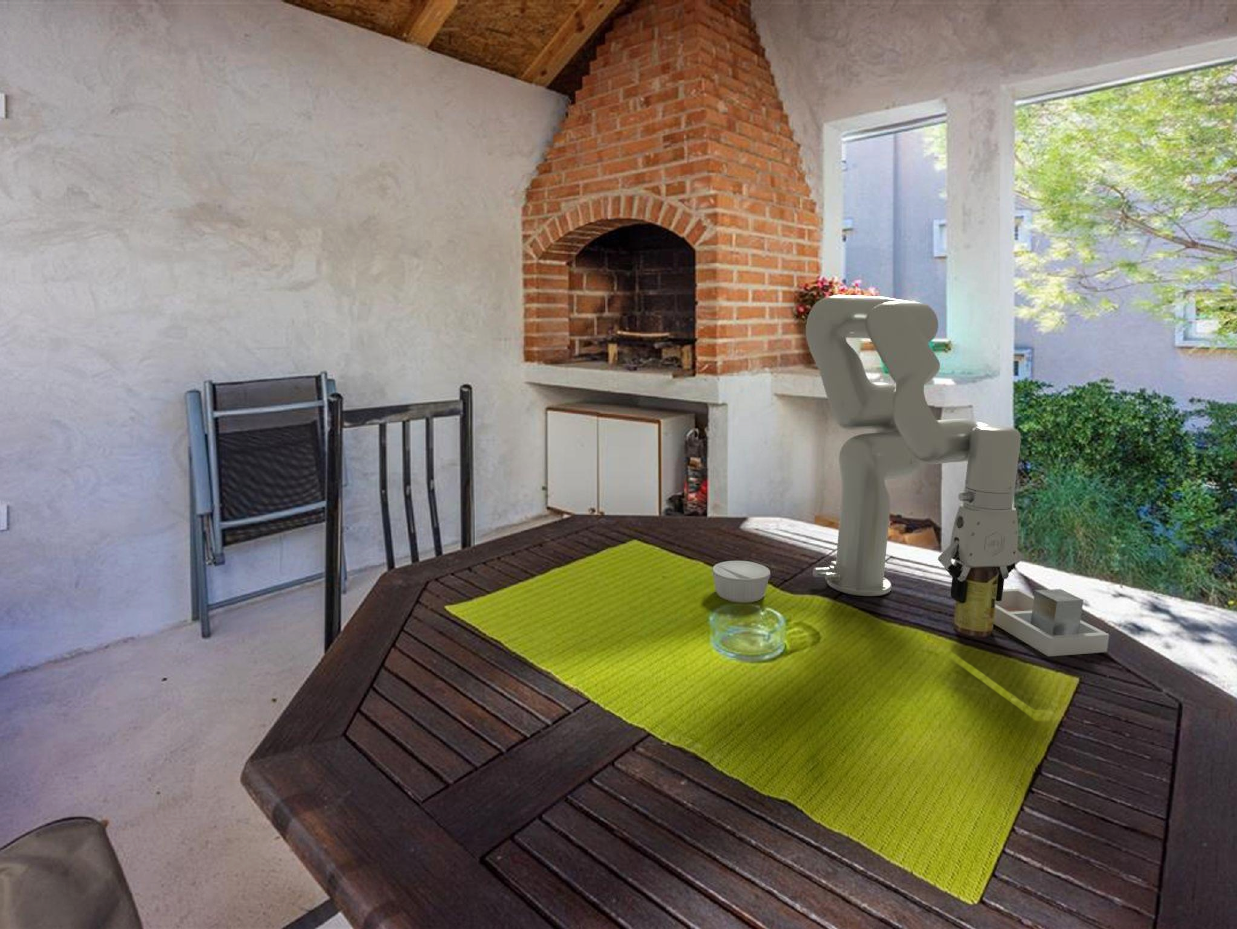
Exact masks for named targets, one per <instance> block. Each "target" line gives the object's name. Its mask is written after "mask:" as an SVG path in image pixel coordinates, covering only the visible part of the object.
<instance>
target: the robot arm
mask: <svg viewBox="0 0 1237 929" xmlns="http://www.w3.org/2000/svg"><path fill="white" fill-rule="evenodd" d="M938 320H939V319H938V317H937V314H936V312H935V310H934V309H933V308H932V307H931V306H929V305H928V304H925V303H923V302H920V301H919V302H917V301H911V300H910V301H909V300H904V299H898V298H897V299H896V298H890V297H885V296H875V295H874V296H873V295H871V296H870V295H857V294H856V295H854V294H852V295H851V294H847V295H846V294H834V295H829V296H826V297H823V298H820V300H818V301H816V302H815V304H814V305H813V306H812V307H811V309H810V311H809V314H808V316H807V319H806V324H805V325H806V326H805V338H806V343H807V345H808V348H809V351H810V354H811V356H812V358H813V360H814V362H815V364H816V367H817V369H818V372H819V374H820V378H821V381H822V384H823V385H822V386H823V388H824V391H825V394H826V398H827V401H828V404H829V406H830V410H831V413H832V417H833V419H834V421H835V422H836V424H837V426H838V427H839V428H841V429H844V430H847V431H861V430H863V431H864V430H873V431H874V432H869V433H861V434H858V435H855V436H854V435H853V436H852V437H850V438H848V439H847V440H846V441H845V442H844V443H843V444H842V447H841V448H840V450H839V456H838V457H839V458H838V463H839V464H838V465H839V471H840V472H839V473H840V479H841V480H840V482H841V485H840V486H841V492H840V496H841V497H840V511H839V520H838V522H839V523H838V535H837V536H838V537H837V546H836V547H837V548H836V560H832V561H831V562H830V565H827V566H826V567H822V566H821V567H813V569H812V575H813V577H814V578H820V577H821V578H822V577H824V579H825V580H826V583H827V585H828V586H829V587H831V588H832V589H834V590H835V591H839V592H841V593H845V594H848V595H853V596H860V597H879V596H883V595H887V594H888V593H890V592H891V590H892V583H891V581H890V580H888V579H887V578H886V577H884V576H885V569H886V568H885V566H886V558H887V557H886V556H887V548H888V539H889V537H888V536H889V528H890V526H889V525H890V516H891V514H890V513H891V498H890V494H889V491H888V489H887V486H886V481H887V480H895V479H901V478H902V479H903V478H907V477H911V476H913V475H914V474H916V473H917V472H918V471H919V470H920V468H921V467H922V465H923V463H924V464H928V465H939V464H941V465H942V464H946V463H947V464H948V463H959V462H967V465H966V466H967V468H966V473H965V474H966V475H965V480H964V481H965V484H964V490H963V492H960V493H959V494H958V500H959V501H961V502H962V504H959V506H958V509H957V513H956V516H955V519H954V522H953V526H952V531H951V535H950V545H949V546H948V547H947V548H946V549H945V550H944V551H943V552H942V553H941V554H939V556H938V557H937V560H938V562H939V563H940V564H941V565H942V566H943V567H944V568H943V569H945V571H946V572H947V573H948V574H949V576H950V577H951V578H952V579H951V586H950V597H951V599H953V600H955V602H956V601H958V602H960V603H965V602H966V594H967V586H968V582H967V581H965V578H966V576H967V574H968V572H969V570H970V568H979V567H998V570H999V574H998V584H997V595H996V601H1001V600H1002V593H1003V589H1004V587H1005V586H1004V585H1005V580H1007V579H1008V578H1009V574H1010V573H1011V572H1012V571H1013V570H1014V569H1015V568H1016V565H1017V564H1019V563H1020V562H1021V561H1022V560H1023V559H1024V554H1023V553H1022V552H1021V551H1020V550H1019V549H1018V542H1019V520H1018V512H1017V509H1016V508H1015V507H1013V505H1014V503H1013V502H1014V496H1015V489H1016V480H1017V472H1018V464H1019V459H1020V458H1019V457H1020V449H1021V441H1022V437H1021V432H1020V431H1019V430H1017V429H1016V428H1014V427H1010V426H1004V425H996V424H993V425H992V424H987V423H984V422H982V421H979V420H974V419H971V418H954V419H953V418H950V419H949V418H948V419H937V418H936V417H935V415H934V413H933V411H932V410H931V408H930V406H929V404H928V402H927V399H926V397H925V392H924V391H925V385H926V384H927V383H929V382H930V381H931V380H932V379H934V377H935V376H936V375H937V374H938V373H939V371H940V367H941V363H940V360H939V359H938V356H936V354H935V352H934V350H933V348H932V347H931V345H930V343H931V342H932V341H933V340H934V339H935V338H936V336H937V333H938V329H939V321H938ZM848 338H852V339H855V338H856V339H861V338H862V339H866V338H867V339H870V341H871V343H872V345H873V347H874V349H875V351H876V352H877V354H878V356H879V357H880V358H879V359H881V362H882V363H883V365H884V367H885V369H886V370H887V372H888V375H889V376H890V378H891V380H892V381H893V384H894V385H893V384H891V383H889V382H872V381H870V380H869V378H868V376H867V374H866V370H865V367H864V365H863V362H862V360H861V357H860V356H859V354H858V353H857V351H855V349H854V348H853V347H852V346H851V345H850V344H849V342H847V339H848ZM952 560H954V561H952ZM962 565H963V566H962ZM961 566H962V568H961ZM960 568H961V570H960ZM959 570H960V571H959Z"/></svg>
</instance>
